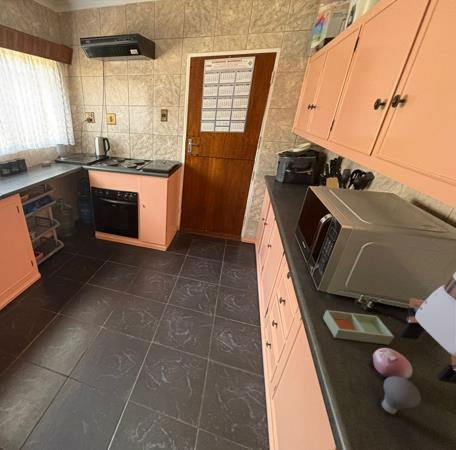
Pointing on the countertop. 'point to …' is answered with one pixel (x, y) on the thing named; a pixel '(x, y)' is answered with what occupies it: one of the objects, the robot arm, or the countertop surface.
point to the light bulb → (400, 394)
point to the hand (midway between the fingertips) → (425, 357)
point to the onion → (391, 363)
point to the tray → (357, 327)
